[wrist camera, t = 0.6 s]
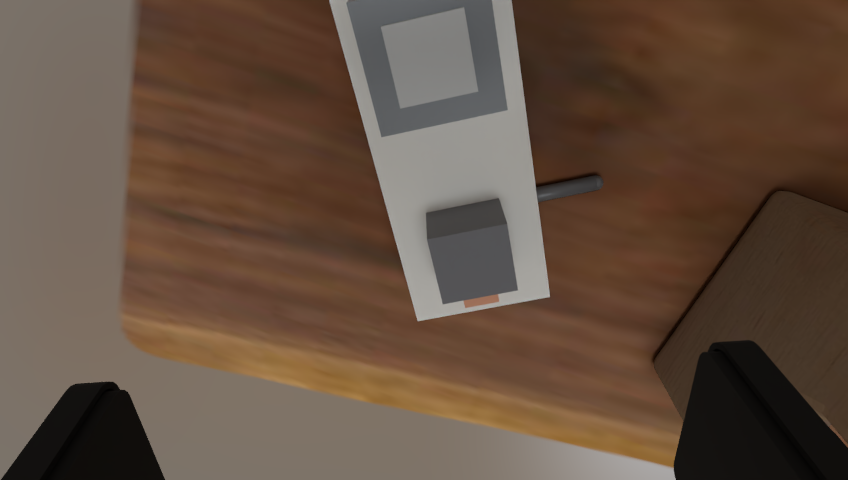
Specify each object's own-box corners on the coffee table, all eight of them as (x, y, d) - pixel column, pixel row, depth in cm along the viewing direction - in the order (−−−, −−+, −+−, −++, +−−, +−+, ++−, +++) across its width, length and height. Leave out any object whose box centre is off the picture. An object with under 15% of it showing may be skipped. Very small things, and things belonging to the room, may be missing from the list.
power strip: (581, -107, 27) (631, -119, 21) (605, 248, 36) (644, 313, 30) (329, -45, 28) (305, -38, 22) (417, 284, 37) (418, 354, 31)
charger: (467, -42, 26) (487, -31, 19) (484, 66, 29) (508, 111, 21) (363, -17, 27) (345, 3, 19) (389, 87, 29) (381, 139, 22)
